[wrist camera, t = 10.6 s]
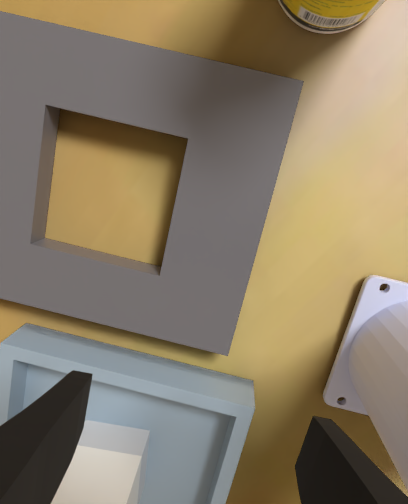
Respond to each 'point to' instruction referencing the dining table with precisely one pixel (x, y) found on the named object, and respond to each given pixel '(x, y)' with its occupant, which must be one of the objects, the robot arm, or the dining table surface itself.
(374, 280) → the robot arm
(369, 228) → the dining table surface
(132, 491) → the block
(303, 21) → the supplement bottle
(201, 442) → the parts tray
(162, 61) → the block
